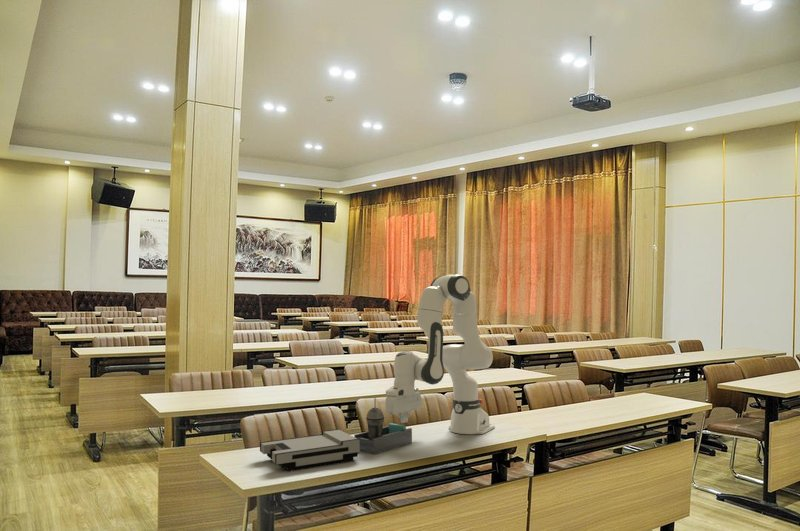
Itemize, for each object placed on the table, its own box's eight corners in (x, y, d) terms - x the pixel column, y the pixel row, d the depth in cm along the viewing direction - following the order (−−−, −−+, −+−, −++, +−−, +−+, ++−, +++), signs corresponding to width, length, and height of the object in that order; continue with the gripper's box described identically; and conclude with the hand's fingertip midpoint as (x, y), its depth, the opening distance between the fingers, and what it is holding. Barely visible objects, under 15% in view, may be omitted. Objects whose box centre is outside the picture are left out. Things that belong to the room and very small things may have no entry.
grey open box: (392, 438, 258) (392, 424, 259) (411, 442, 251) (411, 428, 251) (354, 449, 241) (354, 434, 241) (374, 454, 234) (374, 438, 234)
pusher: (391, 437, 256) (390, 423, 256) (406, 440, 250) (405, 425, 251) (388, 438, 255) (388, 423, 255) (403, 440, 249) (403, 426, 249)
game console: (259, 460, 227) (259, 439, 228) (337, 449, 243) (337, 429, 243) (276, 475, 209) (276, 451, 210) (359, 461, 225) (359, 439, 225)
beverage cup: (384, 444, 245) (383, 395, 246) (384, 449, 237) (384, 398, 238) (366, 444, 244) (366, 395, 245) (366, 449, 237) (365, 398, 238)
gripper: (413, 386, 268) (414, 418, 267) (382, 391, 252) (382, 424, 251) (425, 387, 264) (425, 419, 262) (394, 392, 248) (394, 426, 247)
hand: (404, 422), depth 257 cm, fingers closed
